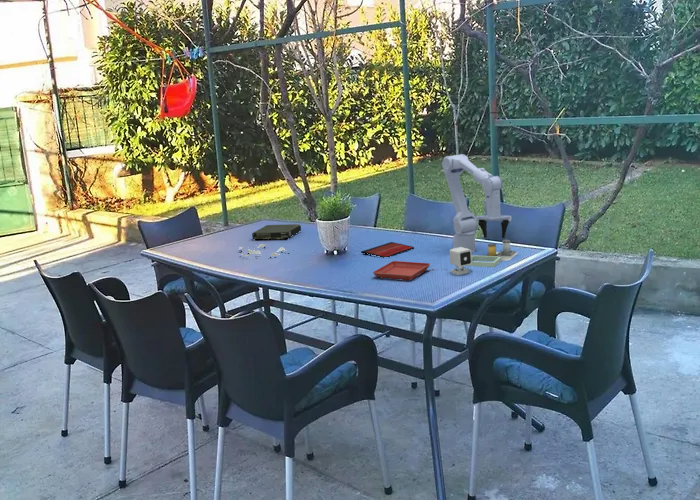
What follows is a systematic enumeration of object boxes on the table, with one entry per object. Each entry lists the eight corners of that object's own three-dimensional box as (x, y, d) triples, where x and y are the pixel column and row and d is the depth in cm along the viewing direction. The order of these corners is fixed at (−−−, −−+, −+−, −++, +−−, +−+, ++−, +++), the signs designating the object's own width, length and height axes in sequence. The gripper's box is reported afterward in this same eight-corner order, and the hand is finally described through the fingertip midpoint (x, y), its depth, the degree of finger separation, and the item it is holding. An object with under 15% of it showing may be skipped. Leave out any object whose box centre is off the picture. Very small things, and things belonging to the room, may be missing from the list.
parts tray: (463, 268, 287) (463, 261, 286) (472, 262, 295) (472, 255, 295) (494, 270, 280) (494, 262, 280) (502, 263, 289) (501, 256, 288)
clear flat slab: (304, 252, 343) (304, 245, 342) (266, 263, 327) (265, 256, 327) (262, 245, 368) (261, 238, 367) (224, 255, 352) (223, 248, 352)
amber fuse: (487, 258, 294) (486, 244, 293) (489, 256, 297) (489, 243, 295) (494, 259, 292) (494, 245, 291) (497, 257, 295) (496, 243, 294)
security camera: (459, 276, 276) (458, 252, 274) (449, 273, 282) (448, 249, 280) (472, 273, 279) (471, 249, 276) (462, 270, 285) (461, 246, 283)
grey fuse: (501, 255, 298) (501, 241, 296) (504, 253, 301) (503, 239, 299) (509, 255, 296) (508, 241, 295) (511, 253, 299) (511, 239, 298)
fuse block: (481, 261, 294) (480, 256, 294) (491, 254, 305) (491, 249, 305) (508, 263, 288) (508, 258, 288) (518, 255, 299) (517, 250, 299)
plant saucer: (411, 283, 274) (411, 275, 273) (372, 279, 284) (371, 272, 283) (431, 270, 289) (431, 263, 288) (393, 268, 298) (392, 260, 298)
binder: (360, 250, 326) (390, 241, 340) (361, 255, 326) (391, 246, 340) (386, 255, 314) (416, 246, 329) (386, 260, 315) (416, 250, 329)
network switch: (250, 242, 376) (249, 233, 375) (263, 233, 399) (262, 224, 398) (292, 240, 372) (291, 231, 371) (302, 231, 395) (301, 222, 393)
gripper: (473, 207, 289) (475, 239, 292) (508, 207, 283) (509, 240, 286) (478, 204, 296) (479, 235, 299) (512, 204, 289) (513, 236, 292)
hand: (494, 237), depth 293 cm, fingers open, 7 cm apart
